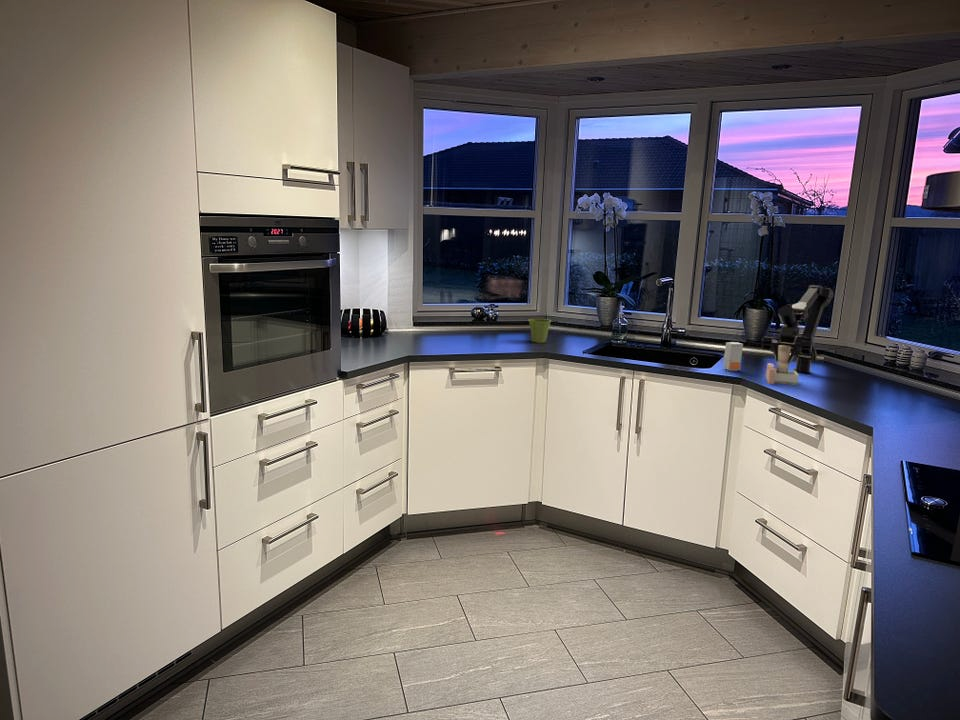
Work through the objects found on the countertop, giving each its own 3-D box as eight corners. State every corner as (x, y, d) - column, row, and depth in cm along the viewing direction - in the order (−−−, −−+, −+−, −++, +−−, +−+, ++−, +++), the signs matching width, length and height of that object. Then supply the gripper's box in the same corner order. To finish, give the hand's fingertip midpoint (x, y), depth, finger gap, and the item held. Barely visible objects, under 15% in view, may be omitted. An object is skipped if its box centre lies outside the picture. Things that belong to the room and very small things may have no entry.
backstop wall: (765, 377, 285) (767, 363, 284) (770, 377, 284) (772, 363, 283) (768, 384, 272) (770, 369, 271) (773, 384, 271) (775, 370, 270)
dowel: (779, 375, 279) (782, 344, 277) (789, 377, 276) (792, 346, 273) (773, 376, 277) (776, 345, 274) (783, 378, 273) (786, 347, 271)
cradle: (771, 378, 282) (772, 369, 281) (794, 380, 279) (796, 371, 278) (773, 382, 274) (774, 373, 273) (797, 385, 271) (798, 375, 270)
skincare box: (728, 370, 295) (731, 343, 292) (722, 368, 299) (725, 342, 296) (740, 370, 296) (743, 343, 294) (734, 368, 300) (737, 342, 298)
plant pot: (540, 339, 355) (541, 318, 353) (554, 343, 346) (556, 321, 344) (522, 340, 349) (523, 319, 346) (536, 344, 339) (538, 322, 337)
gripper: (765, 317, 280) (757, 346, 273) (814, 322, 271) (808, 352, 263) (765, 333, 288) (758, 363, 281) (813, 339, 279) (807, 369, 272)
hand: (782, 361), depth 274 cm, fingers closed on dowel, 4 cm apart
